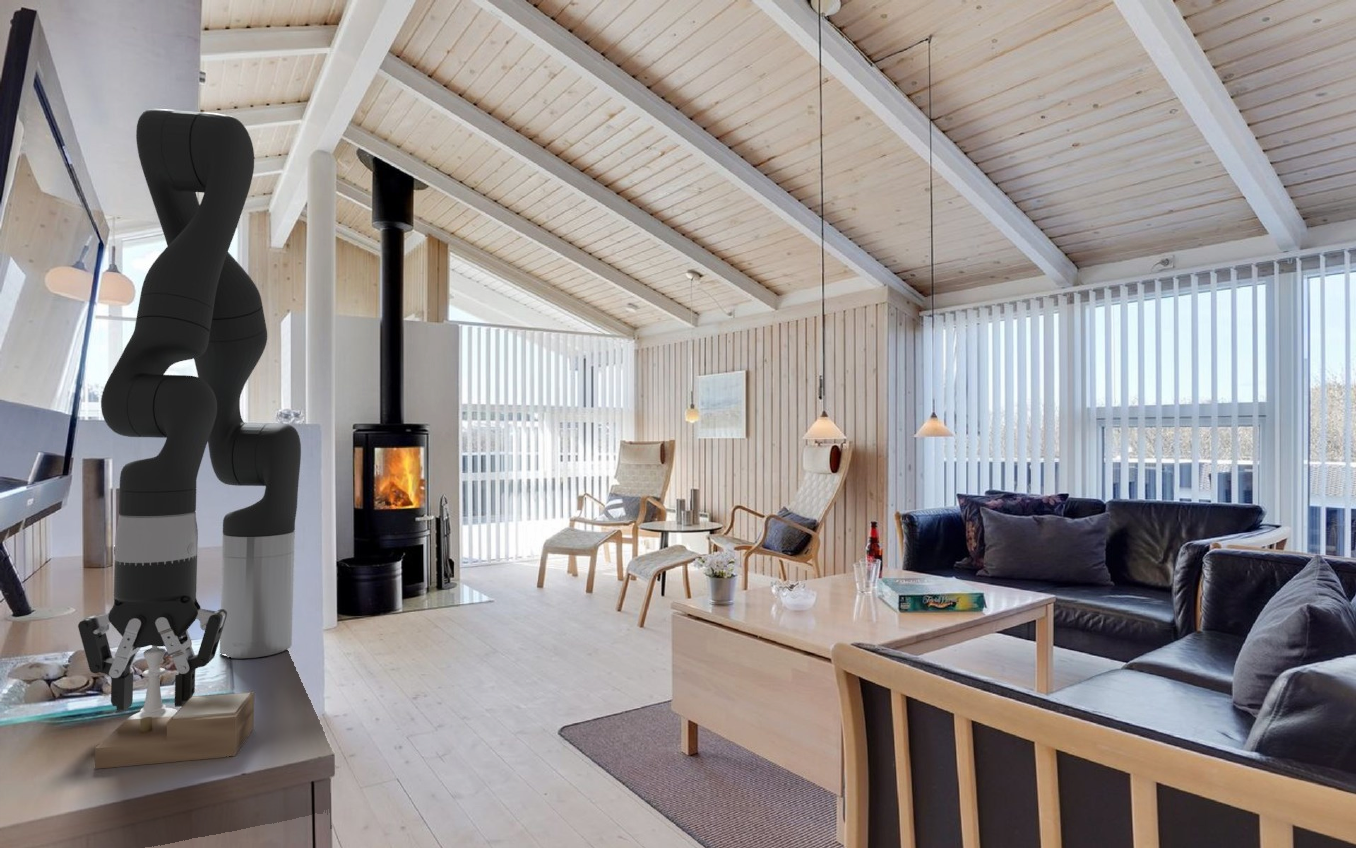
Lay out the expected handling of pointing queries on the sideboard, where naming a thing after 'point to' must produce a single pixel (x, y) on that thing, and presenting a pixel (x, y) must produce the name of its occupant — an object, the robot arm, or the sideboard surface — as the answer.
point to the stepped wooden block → (182, 733)
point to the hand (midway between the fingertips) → (153, 705)
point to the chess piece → (154, 687)
